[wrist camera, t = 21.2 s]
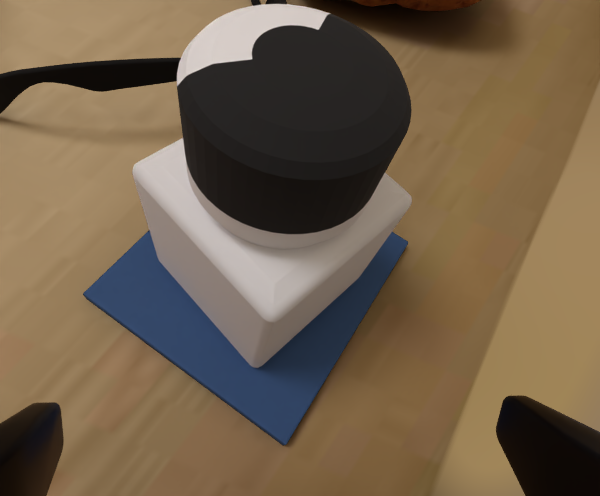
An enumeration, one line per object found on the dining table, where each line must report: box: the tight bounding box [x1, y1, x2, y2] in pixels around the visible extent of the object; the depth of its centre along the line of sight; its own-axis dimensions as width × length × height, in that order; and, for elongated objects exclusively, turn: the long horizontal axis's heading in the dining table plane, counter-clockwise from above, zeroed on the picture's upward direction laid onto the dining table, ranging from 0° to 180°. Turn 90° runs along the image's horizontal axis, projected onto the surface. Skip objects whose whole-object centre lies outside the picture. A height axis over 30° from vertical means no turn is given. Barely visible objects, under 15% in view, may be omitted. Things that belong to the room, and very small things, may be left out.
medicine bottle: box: [132, 4, 412, 368], centre depth 15 cm, size 7×7×12 cm
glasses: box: [0, 0, 287, 113], centre depth 26 cm, size 17×18×5 cm
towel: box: [83, 230, 408, 445], centre depth 21 cm, size 11×12×1 cm
